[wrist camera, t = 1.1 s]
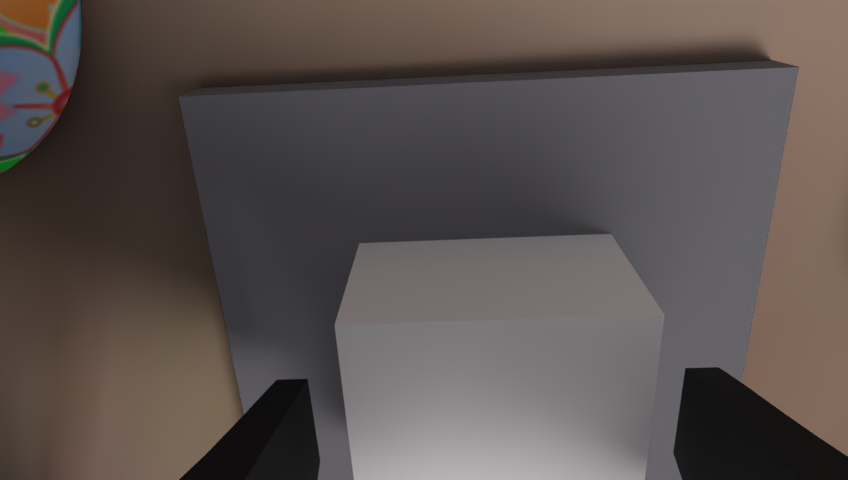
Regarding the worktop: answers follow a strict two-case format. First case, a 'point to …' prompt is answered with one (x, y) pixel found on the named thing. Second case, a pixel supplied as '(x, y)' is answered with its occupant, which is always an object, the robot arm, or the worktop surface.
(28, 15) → the mug
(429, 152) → the mat
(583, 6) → the worktop surface
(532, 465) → the white block
